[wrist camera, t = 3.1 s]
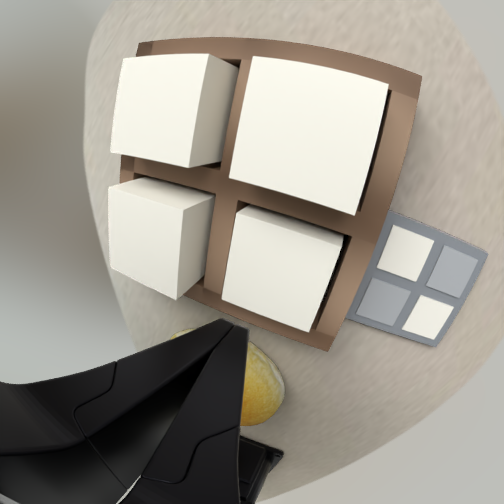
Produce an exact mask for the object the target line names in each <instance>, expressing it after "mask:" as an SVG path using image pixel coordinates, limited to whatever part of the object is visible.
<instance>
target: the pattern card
mask: <svg viewBox="0 0 504 504" xmlns="http://www.w3.org/2000/svg"><path fill="white" fill-rule="evenodd" d="M487 256H488V253H487V252H486V251H485V250H483V249H481V248H478V247H476V246H474V245H472V244H470V243H468V242H466V241H463V240H461V239H459V238H457V237H455V236H452V235H450V234H448V233H445V232H443V231H441V230H438V229H436V228H434V227H431V226H429V225H427V224H424V223H422V222H419V221H417V220H414V219H412V218H409V217H407V216H404V215H401V214H399V213H396V212H393V211H391V210H388V213H387V216H386V219H385V222H384V224H383V227H382V230H381V233H380V235H379V238H378V241H377V243H376V246H375V249H374V251H373V254H372V256H371V259H370V261H369V264H368V266H367V269H366V271H365V274H364V276H363V278H362V281H361V283H360V285H359V288H358V290H357V292H356V295H355V297H354V299H353V301H352V303H351V306H350V308H349V310H348V312H347V314H346V316H345V318H347V319H350V320H353V321H356V322H359V323H362V324H365V325H368V326H371V327H374V328H377V329H380V330H383V331H386V332H389V333H392V334H395V335H399V336H402V337H405V338H408V339H411V340H414V341H417V342H421V343H424V344H427V345H430V346H434V347H436V346H437V345H438V343H439V342H440V340H441V339H442V337H443V336H444V334H445V333H446V331H447V330H448V328H449V327H450V325H451V324H452V322H453V320H454V319H455V317H456V315H457V314H458V312H459V310H460V309H461V307H462V305H463V303H464V302H465V300H466V298H467V296H468V294H469V293H470V291H471V289H472V287H473V285H474V283H475V281H476V279H477V277H478V275H479V273H480V271H481V269H482V267H483V265H484V263H485V260H486V258H487Z"/></svg>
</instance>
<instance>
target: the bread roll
mask: <svg viewBox="0 0 504 504" xmlns="http://www.w3.org/2000/svg"><path fill="white" fill-rule="evenodd" d="M196 329H197V328H196ZM192 330H195V329H186V330H182V331H180V332H178V333H176V334H174V335H173V336H172V337H171V339H173V338H175V337H178V336H180V335H183V334H185V333H188V332H190V331H192ZM171 339H170V340H171ZM284 395H285V385H284V381H283V379H282V375H281V373H280V372H279V370H278V368H277V366H276V365H275V364H274V362H272V361H271V360H270V359H269V358H268V357H267V356H266V355H265V354H264V353H263V352H262V351H261V350H260V349H258V348H257V347H256V346H255V345H254V344H253V343H251V342H250V341H248V352H247V362H246V373H245V383H244V394H243V404H242V414H241V424H240V426H252V425H257V424H260V423H263V422H265V421H266V420H267V419H269V418H270V417H271V416H273V415H274V413H275V412H276V411H277V409H278V408H279V406H280V405H281V403H282V401H283V398H284Z"/></svg>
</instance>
